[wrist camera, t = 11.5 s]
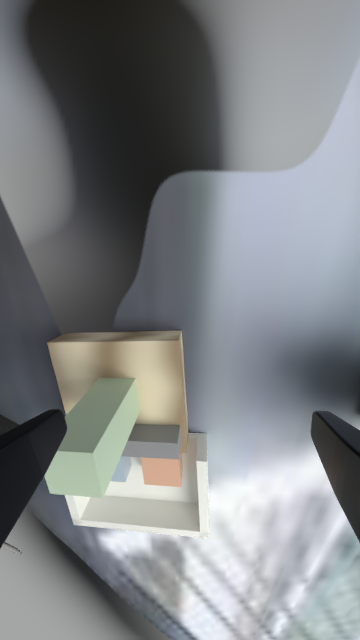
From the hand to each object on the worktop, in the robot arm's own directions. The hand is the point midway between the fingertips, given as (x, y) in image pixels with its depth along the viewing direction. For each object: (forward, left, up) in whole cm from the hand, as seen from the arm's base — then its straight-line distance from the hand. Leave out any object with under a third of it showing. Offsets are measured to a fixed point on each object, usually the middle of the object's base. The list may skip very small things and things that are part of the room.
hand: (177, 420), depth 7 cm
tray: (+7, +18, -12) cm, 23 cm away
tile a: (+4, +15, -12) cm, 20 cm away
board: (+7, +7, -12) cm, 16 cm away
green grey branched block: (+7, +8, -10) cm, 14 cm away
